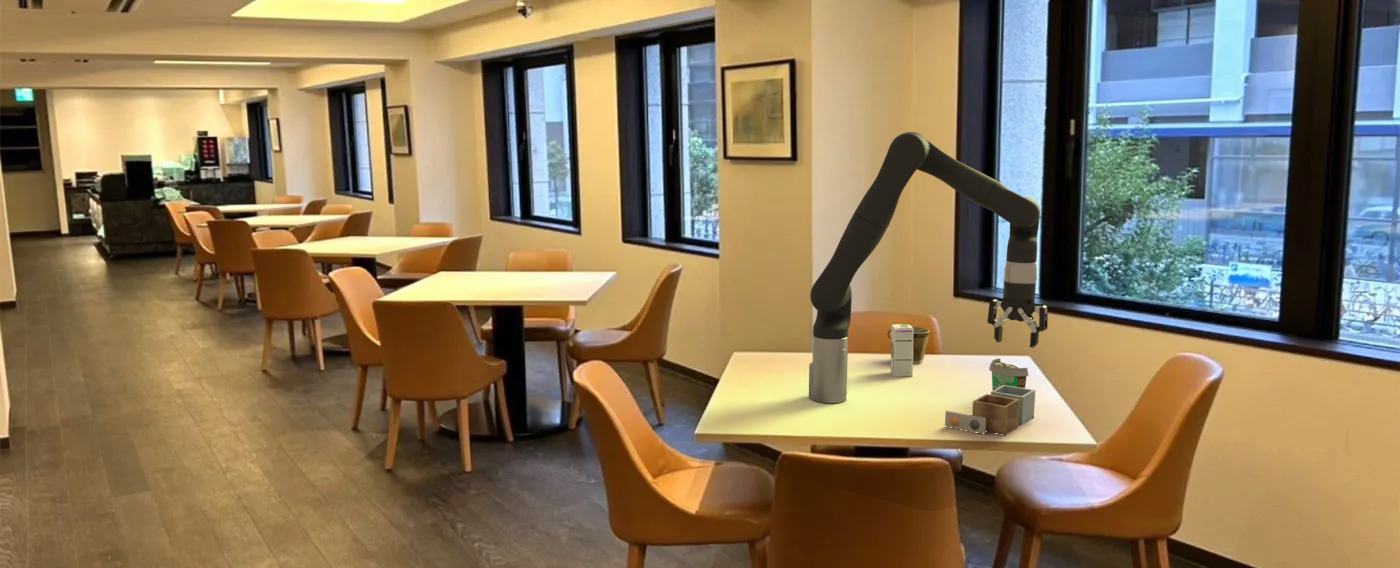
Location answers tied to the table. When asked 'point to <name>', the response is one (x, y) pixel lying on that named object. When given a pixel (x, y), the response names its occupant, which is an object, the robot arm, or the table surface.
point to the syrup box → (902, 350)
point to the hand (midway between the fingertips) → (1015, 344)
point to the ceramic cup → (918, 343)
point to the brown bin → (997, 413)
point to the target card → (965, 422)
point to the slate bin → (1024, 397)
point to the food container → (1007, 375)
